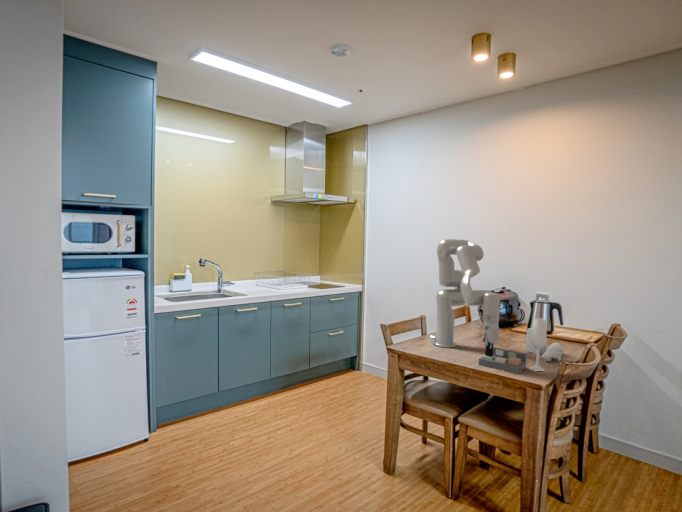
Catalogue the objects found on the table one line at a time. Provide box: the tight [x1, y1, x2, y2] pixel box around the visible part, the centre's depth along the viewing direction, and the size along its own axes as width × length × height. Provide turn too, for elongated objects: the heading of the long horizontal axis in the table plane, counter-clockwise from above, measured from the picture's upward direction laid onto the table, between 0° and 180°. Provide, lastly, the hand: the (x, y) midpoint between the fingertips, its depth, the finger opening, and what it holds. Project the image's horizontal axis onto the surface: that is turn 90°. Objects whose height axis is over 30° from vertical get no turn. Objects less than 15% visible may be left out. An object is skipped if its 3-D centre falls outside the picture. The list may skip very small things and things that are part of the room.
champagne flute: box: [529, 317, 548, 371], centre depth 188 cm, size 7×7×24 cm
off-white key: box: [495, 357, 508, 363], centre depth 190 cm, size 4×4×2 cm
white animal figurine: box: [541, 342, 564, 362], centre depth 204 cm, size 6×8×12 cm
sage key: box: [481, 354, 495, 360], centre depth 194 cm, size 4×4×2 cm
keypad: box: [478, 346, 528, 374], centre depth 192 cm, size 18×12×7 cm, turn 50°
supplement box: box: [525, 327, 548, 355], centre depth 219 cm, size 7×7×13 cm
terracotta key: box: [508, 357, 521, 366], centre depth 187 cm, size 4×4×2 cm
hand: (488, 355), depth 194 cm, fingers closed
